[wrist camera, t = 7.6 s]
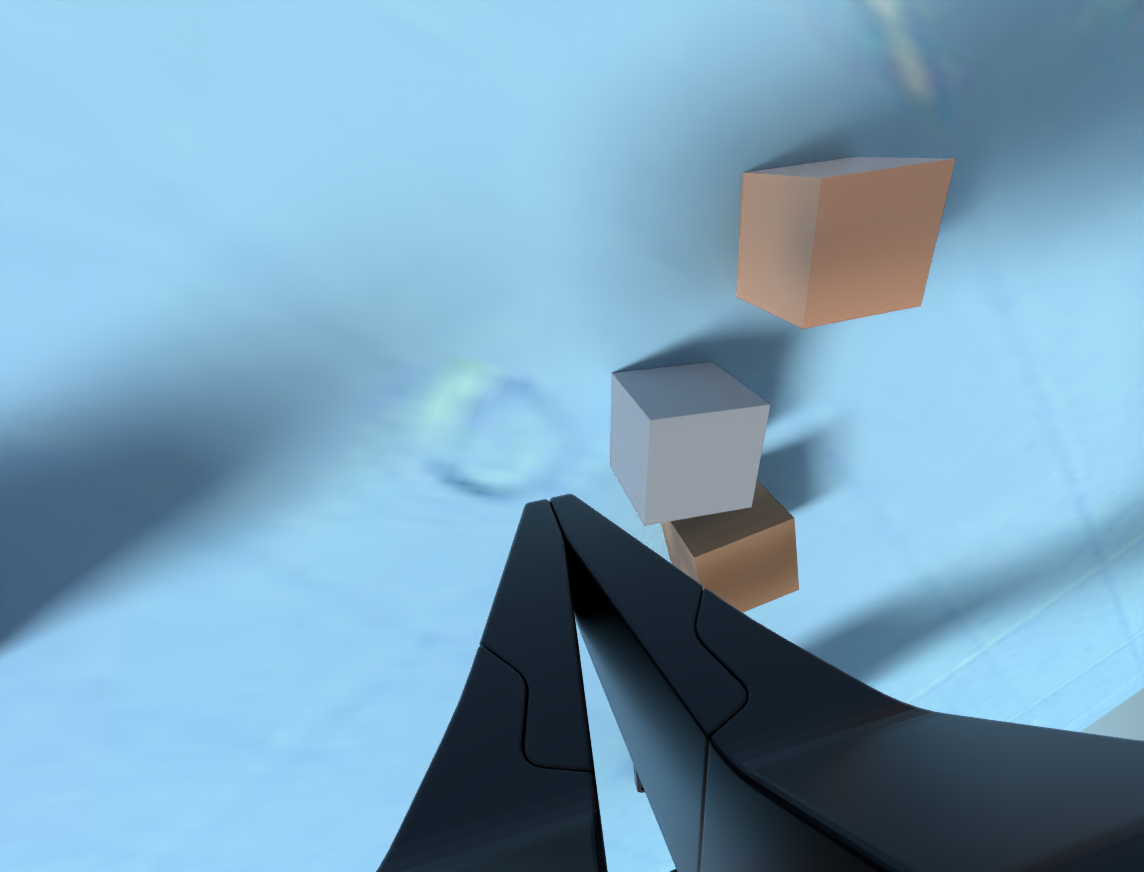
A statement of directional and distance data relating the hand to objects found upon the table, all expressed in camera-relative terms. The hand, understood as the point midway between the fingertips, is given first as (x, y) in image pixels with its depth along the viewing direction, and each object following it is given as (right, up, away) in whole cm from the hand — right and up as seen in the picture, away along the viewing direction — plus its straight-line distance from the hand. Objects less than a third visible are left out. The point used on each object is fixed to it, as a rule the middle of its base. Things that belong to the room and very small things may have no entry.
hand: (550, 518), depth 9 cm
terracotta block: (+8, +9, +9) cm, 15 cm away
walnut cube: (+6, -2, +14) cm, 16 cm away
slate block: (+4, +2, +11) cm, 12 cm away
